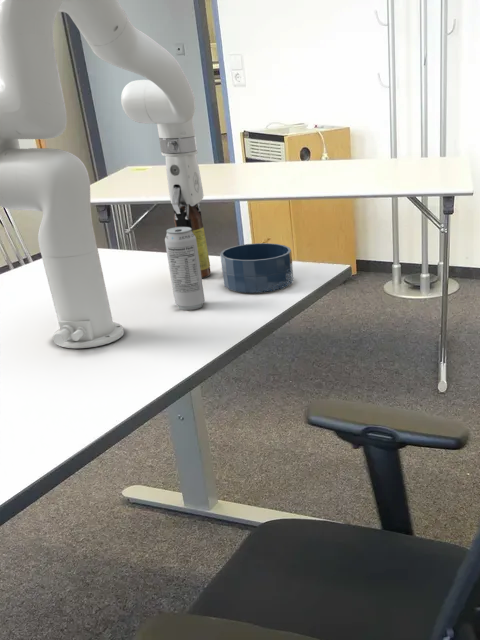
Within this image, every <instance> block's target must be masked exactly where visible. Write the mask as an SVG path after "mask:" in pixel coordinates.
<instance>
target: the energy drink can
mask: <svg viewBox="0 0 480 640" xmlns="http://www.w3.org/2000/svg"><path fill="white" fill-rule="evenodd" d="M191 230H192V229H191V228H190V227H170V228H168V229H166V231H165V232H166V235H165V238H164V243H165V250H166V256H167V262H168V269H169V275H170V281H171V287H172V294H173V300H174V304H175V305H176V306H177V307H178V309H179V310H181V311H194V310H198V309H201V308H202V307H203V306H204V304H203V303H205V302H206V300H205V292H204V285H203V278H201V271H200V264H199V256H198V249H197V242H196V237H195V235H194V234H193V233H192V231H191Z"/></svg>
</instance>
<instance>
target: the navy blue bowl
mask: <svg viewBox="0 0 480 640" xmlns="http://www.w3.org/2000/svg"><path fill="white" fill-rule="evenodd" d="M219 256H220V263H221V271H222V279H223V280H222V281H223V285H224V287H225V288H226V289H228V290H231V291H232V292H236V293H240V294H241V293H242V294H266V293H272V292H276V291H280V290H283V289H285V288H287V287H288V286H290V285H292V284H293V282H294V269H293V255H292V249H291V247H289V246H287V245H285V244H279V243H269V242H257V243H246V244H239V245H235V246H230V247H228V248H225V249H222V250H221V252H219Z"/></svg>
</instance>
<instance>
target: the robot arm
mask: <svg viewBox="0 0 480 640" xmlns="http://www.w3.org/2000/svg"><path fill="white" fill-rule="evenodd" d="M58 13H66V14H67V15H68V16H69V17H70V19H71V20H72V22H73V23H74V25H75V27H76V28H77V29H78V31H79V33H80V34H81V35H82V38H84V40H85V41H86V43H87V44H88V47H90V49H91V51H92V52H93V54H94V55H95V56H96V57H97V58H98V59H100V60H102V61H103V62H105V63H107V64H109V65H111V66H114V67H116V68H119V69H122V70H125V71H128V72H130V73H134V74H136V75H139V76H141V77H143V78H145V79H136V80H131V81H130V82H128V83H127V84H126V85H125V86H124V87H123V88H122V91H121V93H120V94H121V95H120V104H121V108H122V110H123V112H124V114H125V115H126V116H127V117H128V119H130V120H131V121H133V122H135V123H139V124H149V125H150V124H152V125H153V124H154V125H155V124H156V127H157V134H158V140H159V146H160V153H161V156H162V157H165V169H166V179H167V187H168V194H169V199H170V204H171V205H172V208H173V214H174V213H175V219H176V225H177V227H190V228H191V229H192V225H191V219H189V204H190V206H194V205H195V207H196V209H197V211H198V212H199V214H200V216H201V219H202V211H201V210H202V209H201V205H200V202H201V201H202V200H203V199H204V196H205V195H204V190H203V183H202V178H201V172H200V166H199V162H198V157H197V154H198V147H197V137H196V132H195V123H194V115H195V113H196V97H195V93H194V90H193V88H192V86H191V83H190V81H189V79H188V77H187V76H186V74H185V72H184V70H183V68H182V65H180V63H179V62H178V60H177V59H176V57H175V56H174V55H173V54H171V52H170V51H168V50H167V49H166V48H165V47H164V46H162V45H161V44H160V43H159V42H157V41H156V40H154V39H153V38H152V37H150V36H149V35H148V34H146V33H145V32H143V31H141V30H140V29H138V28H137V27H136V26H135V25H133V23H132V21H131V20H130V18H129V17H128V15H127V13H126V11H125V10H124V8H123V6H122V4H121V3H120V1H119V0H0V207H1V208H4V209H6V210H7V209H8V210H13V211H33V212H42V217H41V221H40V224H39V228H38V233H37V243H38V247H39V252H40V255H41V260H42V263H43V267H44V271H45V275H46V279H47V284H48V287H49V291H50V295H51V299H52V303H53V307H54V311H55V316H56V319H57V323H58V327H59V329H57V330H56V331H55V332H54V333H53V334H52V339H53V342H54V344H55V345H57V346H58V347H62V348H66V349H88V348H96V347H101V346H105V345H108V344H110V343H113V342H116V341H118V340H119V339H120V338H122V337H123V336H124V334H125V333H124V332H125V331H124V327H123V325H122V324H120V323H119V322H115V321H114V320H113V316H112V311H111V306H110V301H109V296H108V290H107V287H106V283H105V277H104V272H103V268H102V262H101V258H100V253H99V249H98V244H97V240H96V239H97V238H96V234H95V228H94V223H93V217H92V209H91V208H92V206H91V205H92V204H91V180H90V176H89V175H90V174H89V171H88V169H87V167H86V165H85V164H84V162H83V161H82V160H81V159H80V158H79V157H78V156H77V155H75V154H74V153H72V152H70V151H68V150H63V149H59V148H46V147H43V148H42V147H40V148H38V147H29V148H20V141H19V140H50V139H56V138H58V137H60V136H62V135H63V134H64V133H65V131H66V129H67V124H68V116H67V115H68V114H67V109H66V108H67V107H66V102H65V97H64V91H63V87H62V81H61V76H60V72H59V65H58V62H57V57H56V50H55V44H54V43H55V42H54V27H55V22H56V18H57V15H58ZM180 202H186V204H180ZM183 208H185V212H184V210H183ZM202 220H203V219H202ZM191 231H192V230H191ZM192 233H193V232H192Z"/></svg>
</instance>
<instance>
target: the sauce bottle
mask: <svg viewBox="0 0 480 640" xmlns="http://www.w3.org/2000/svg"><path fill="white" fill-rule="evenodd" d="M180 204H186V202H180ZM183 210H184V212H185V208H183ZM201 217H202V215H201V216H200V214H199V212H198V211H197V209H196V207H195V205H194V206H190V204H189V219H191V225H192V232H193V234H194V235H195V237H196V242H197V249H198V256H199V264H200V271H201V278H202V279H204V278H207V277H208V276H210V275H211V273H212V271H211V261H210V257H209V250H208V245H207V240H206V233H205V228H204V223H203V219H201ZM173 222H174V226H175V227H177V225H176V219H175V213H174V212H173Z"/></svg>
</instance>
